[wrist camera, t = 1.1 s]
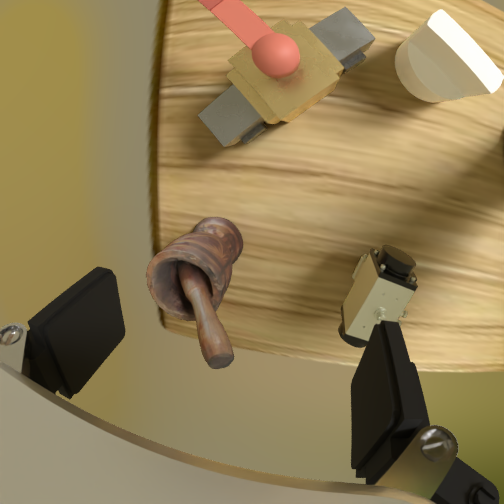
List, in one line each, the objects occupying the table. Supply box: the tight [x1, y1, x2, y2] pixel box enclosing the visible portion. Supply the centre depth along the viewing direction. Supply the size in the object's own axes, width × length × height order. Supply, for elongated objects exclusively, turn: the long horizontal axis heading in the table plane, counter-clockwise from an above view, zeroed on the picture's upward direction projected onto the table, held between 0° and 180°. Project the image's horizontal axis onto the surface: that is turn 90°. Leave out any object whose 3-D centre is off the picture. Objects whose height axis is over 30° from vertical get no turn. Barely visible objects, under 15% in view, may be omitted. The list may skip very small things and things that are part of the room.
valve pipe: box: [198, 7, 375, 147], centre depth 26 cm, size 20×8×12 cm, turn 129°
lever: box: [198, 0, 300, 78], centre depth 19 cm, size 14×4×2 cm, turn 39°
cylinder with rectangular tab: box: [395, 9, 504, 103], centre depth 22 cm, size 9×9×12 cm
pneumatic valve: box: [338, 245, 418, 348], centre depth 34 cm, size 6×12×12 cm, turn 163°
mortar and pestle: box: [146, 217, 243, 369], centre depth 33 cm, size 12×9×20 cm
